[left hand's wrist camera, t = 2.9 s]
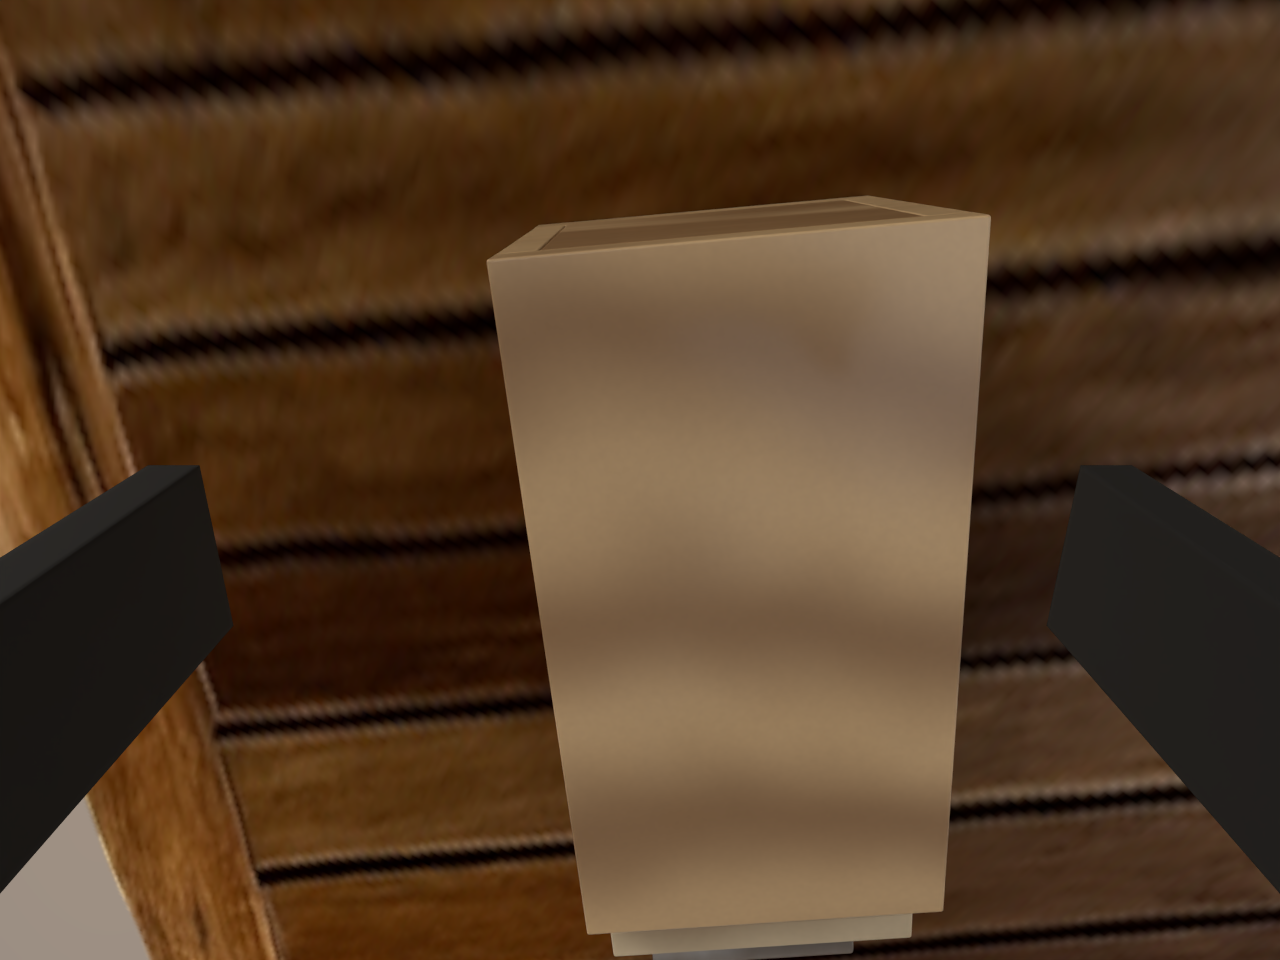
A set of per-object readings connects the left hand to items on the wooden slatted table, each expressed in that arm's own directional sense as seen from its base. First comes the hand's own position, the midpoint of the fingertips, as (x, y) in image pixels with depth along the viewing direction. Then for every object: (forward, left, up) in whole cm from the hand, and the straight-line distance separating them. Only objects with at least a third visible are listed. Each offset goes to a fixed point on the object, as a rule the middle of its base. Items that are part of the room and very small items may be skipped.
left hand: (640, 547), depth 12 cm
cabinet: (-2, +7, -18) cm, 20 cm away
